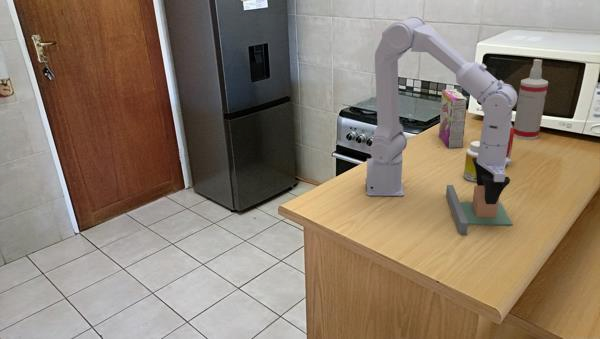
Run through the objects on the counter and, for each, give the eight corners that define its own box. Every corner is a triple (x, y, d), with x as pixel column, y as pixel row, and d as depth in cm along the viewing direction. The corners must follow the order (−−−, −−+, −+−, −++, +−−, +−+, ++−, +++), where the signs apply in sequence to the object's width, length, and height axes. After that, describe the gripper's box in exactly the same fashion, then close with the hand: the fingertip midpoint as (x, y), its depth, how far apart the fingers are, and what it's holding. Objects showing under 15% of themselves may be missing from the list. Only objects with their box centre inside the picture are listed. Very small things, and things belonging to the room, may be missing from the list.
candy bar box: (437, 136, 149) (441, 89, 142) (452, 135, 149) (456, 88, 142) (447, 149, 139) (451, 99, 132) (463, 148, 139) (468, 98, 132)
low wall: (459, 234, 97) (461, 223, 96) (445, 195, 113) (446, 184, 112) (466, 234, 97) (468, 223, 96) (451, 195, 113) (452, 184, 112)
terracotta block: (476, 217, 102) (479, 194, 100) (471, 207, 106) (474, 185, 104) (496, 217, 102) (499, 194, 99) (491, 207, 106) (494, 185, 103)
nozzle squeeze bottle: (507, 133, 148) (519, 58, 137) (526, 130, 149) (539, 56, 139) (523, 141, 141) (536, 63, 130) (543, 137, 143) (558, 60, 132)
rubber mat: (466, 224, 101) (466, 223, 100) (457, 202, 109) (458, 201, 109) (512, 225, 99) (512, 224, 99) (500, 203, 108) (500, 201, 108)
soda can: (482, 167, 126) (487, 128, 121) (483, 157, 132) (488, 120, 127) (509, 170, 124) (515, 130, 118) (508, 160, 129) (514, 121, 124)
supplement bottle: (476, 184, 117) (481, 149, 113) (459, 177, 122) (463, 143, 117) (489, 178, 120) (494, 143, 116) (472, 171, 124) (476, 138, 120)
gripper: (524, 154, 89) (514, 211, 95) (503, 129, 102) (495, 180, 108) (488, 154, 90) (480, 211, 96) (472, 129, 103) (466, 180, 109)
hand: (486, 195), depth 102 cm, fingers open, 7 cm apart
